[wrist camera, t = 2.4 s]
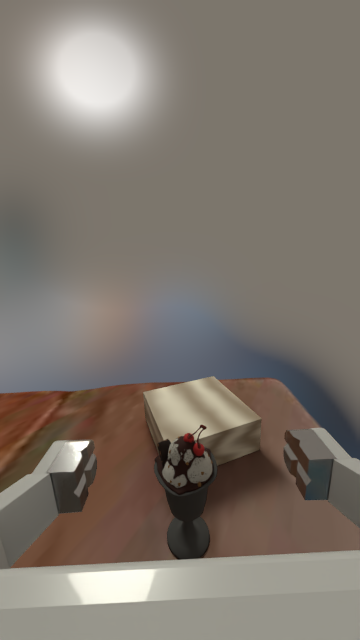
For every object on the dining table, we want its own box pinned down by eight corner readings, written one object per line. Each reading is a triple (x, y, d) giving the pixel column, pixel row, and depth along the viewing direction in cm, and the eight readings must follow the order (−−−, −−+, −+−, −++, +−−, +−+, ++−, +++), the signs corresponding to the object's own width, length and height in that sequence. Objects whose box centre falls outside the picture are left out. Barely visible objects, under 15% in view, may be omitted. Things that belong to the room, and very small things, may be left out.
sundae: (229, 547, 26) (231, 432, 22) (175, 587, 23) (168, 461, 19) (197, 496, 31) (195, 399, 28) (151, 523, 28) (142, 417, 25)
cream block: (169, 483, 33) (167, 449, 32) (145, 418, 48) (143, 392, 47) (259, 449, 39) (261, 418, 37) (213, 399, 53) (213, 376, 52)
